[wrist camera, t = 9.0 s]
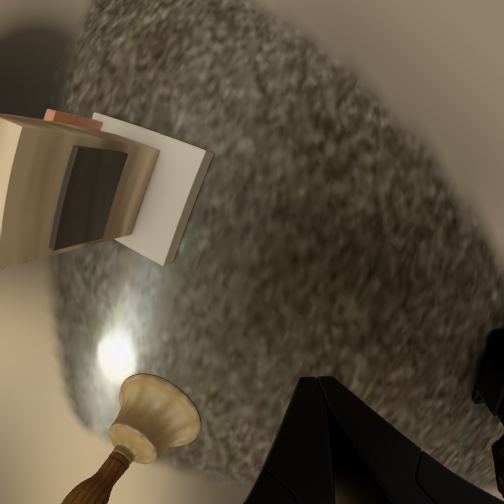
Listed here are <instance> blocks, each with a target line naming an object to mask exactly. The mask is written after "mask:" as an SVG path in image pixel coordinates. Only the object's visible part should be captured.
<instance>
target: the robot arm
mask: <svg viewBox="0 0 504 504" xmlns="http://www.w3.org/2000/svg"><path fill="white" fill-rule="evenodd" d="M496 335H497V337H496V338H495V336H496ZM494 338H495V339H494ZM477 397H478V398H477ZM476 398H477V399H476ZM472 401H473V403H474V404H479V403H486V404H487V406H488V407H489V409H490V411H491V412H492V414H493V415H494V416H496V415H497V416H498V418H499V419H500V421H501V423H502V424H503V426H504V329H496V330H494V331H492V332H491V334H490V337H489V341H488V345H487V349H486V353H485V357H484V359H483V361H482V365H481V368H480V372H479V375H478V378H477V381H476V384H475V390H474V393H473V395H472ZM491 447H492V453H493V460H494V466H495V474H496V481H497V488H498V491H499V492H500V493H501V494H502V497H503V498H504V434H503V435H502V437H501V438H500V439H499V440H497V441H496V442H495V443H494V444H493V445H492V446H491ZM243 504H504V501H502V500H500V499H498V498H497V497H495V496H493V495H491V494H489V493H487V492H486V491H484V490H482V489H480V488H478V487H477V486H475V485H473V484H471V483H469V482H468V481H466V480H464V479H463V478H461V477H460V476H458V475H456V474H455V473H453V472H452V471H450V470H449V469H447V468H446V467H444V466H443V465H442V464H440V463H439V462H437V461H436V460H435V459H433V458H432V457H431V456H430V455H428V454H427V453H426V452H424V451H422V452H421V449H420V448H419V447H418V446H417V445H415V444H414V443H413V442H412V441H410V440H409V439H408V438H407V437H405V436H404V435H403V434H402V433H400V432H399V431H398V430H397V429H395V428H394V427H393V426H392V425H391V424H389V423H388V422H387V421H386V420H384V419H383V418H382V417H381V416H380V415H378V414H377V413H376V412H375V411H374V410H372V409H371V408H370V407H369V406H367V405H366V404H365V403H364V402H363V401H362V400H360V399H359V398H358V397H357V396H356V395H354V394H353V393H352V392H351V391H350V390H348V389H347V388H346V387H345V386H344V385H343V384H341V383H340V382H339V381H338V380H337V379H336V378H334V377H333V376H319V377H317V378H315V377H300V378H299V380H298V382H297V385H296V387H295V390H294V393H293V395H292V398H291V400H290V403H289V405H288V408H287V410H286V413H285V415H284V418H283V420H282V423H281V425H280V427H279V430H278V432H277V434H276V437H275V439H274V441H273V444H272V446H271V448H270V451H269V453H268V455H267V457H266V460H265V462H264V464H263V466H262V469H261V470H260V472H259V474H258V477H257V479H256V481H255V483H254V485H253V487H252V488H251V490H250V492H249V494H248V496H247V498H246V499H245V501H244V502H243Z"/></svg>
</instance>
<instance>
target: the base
mask: <svg viewBox="0 0 504 504" xmlns="http://www.w3.org/2000/svg"><path fill="white" fill-rule="evenodd" d="M44 120H47V121H52V122H58V123H64V124H69V125H74V126H80V127H85V128H90V129H95V130H99V131H104V132H109V133H113V134H117V135H120V136H123V137H125V138H128V139H131V140H134V141H136V142H139V143H142V144H144V145H147V146H150V147H152V148H155V149H158V150H160V151H159V153H158V156H157V159H156V161H155V164H154V167H153V169H152V172H151V175H150V178H149V181H148V184H147V186H146V189H145V192H144V195H143V198H142V201H141V204H140V207H139V210H138V214H137V217H136V220H135V223H134V226H133V230H132V233H131V235H128V236H124V237H120V238H116V239H115V240H116V241H118V242H120V243H122V244H124V245H125V246H127V247H129V248H131V249H132V250H134V251H136V252H138V253H140V254H142V255H143V256H145V257H147V258H149V259H151V260H152V261H154V262H156V263H158V264H160V265H162V266H165V265H167V264H169V263H172V262H173V261H174V258H175V255H176V252H177V249H178V247H179V244H180V241H181V238H182V235H183V233H184V230H185V227H186V224H187V222H188V219H189V216H190V214H191V211H192V208H193V206H194V203H195V200H196V198H197V195H198V193H199V190H200V187H201V185H202V182H203V180H204V177H205V175H206V172H207V170H208V167H209V165H210V162H211V160H212V158H213V155H214V153H212V152H209V151H206V150H204V149H201V148H199V147H196V146H193V145H191V144H188V143H185V142H182V141H180V140H177V139H174V138H171V137H169V136H166V135H163V134H160V133H157V132H154V131H151V130H149V129H146V128H143V127H140V126H137V125H134V124H131V123H128V122H124V121H121V120H118V119H115V118H112V117H109V116H105V115H102V114H98V113H95V112H94V115H93V117H92V119H91V118H87V117H82V116H78V115H74V114H69V113H65V112H60V111H56V110H51V109H47V111H46V114H45V117H44Z"/></svg>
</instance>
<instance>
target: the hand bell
mask: <svg viewBox="0 0 504 504" xmlns="http://www.w3.org/2000/svg"><path fill="white" fill-rule="evenodd" d="M119 401H120V406H121V410H120V412H119V414H118V416H117V418H116V420H115V421H114V423H113V424H112V425H111V427H110V429H109V438H110V440H111V442H112V444H113V446H114V447H115V448H114V450H113V451H112V453H111V454H110V455H109V457H108V459H107V460H106V461H105V462H104V464H103V465H102V466H101V468H100V469H99V470H98V472H97V473H96V474H94V475H93V476H92V477H90V478H88V479H87V480H85V481H83V482H81V483H80V484H79V485H77V486H76V487H75V488H74V489H72V491H71V492H70V493H69V494H68V495H67V496H66V497H65V499H64V500H63V502H62V503H61V504H107V503H108V501H109V497H110V493H111V490H112V488H113V486H114V484H115V483H116V482H117V480H118V479H119V478H120V477H121V476H122V475H123V474H124V472H125V471H126V470H127V469H128V468H129V465H130V464H131V463H132V461H133V462H136V463H140V464H150V463H152V462H154V461H155V460H156V459H157V458H158V457H159V455H160V454H162V453H163V452H164V451H165V450H166V449H168V448H169V447H171V446H182V445H185V444H188V443H190V442H192V441H193V440H195V439H196V437H197V436H198V434H199V433H200V429H201V420H200V416H199V414H198V411H197V409H196V407H195V405H194V403H193V402H192V401H191V400H190V399H189V397H188V396H187V395H186V394H185V393H184V392H182V391H181V390H180V389H179V388H178V387H176V386H175V385H174V384H172V383H170V382H168V381H167V380H165V379H162V378H160V377H157V376H154V375H149V374H136V375H133V376H130V377H129V378H127V379H126V380H125V381H124V382H123V384H122V386H121V389H120V394H119Z"/></svg>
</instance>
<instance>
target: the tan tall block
mask: <svg viewBox="0 0 504 504" xmlns="http://www.w3.org/2000/svg"><path fill="white" fill-rule="evenodd" d="M159 151H160V150H158V149H155V148H152V147H150V146H147V145H144V144H142V143H139V142H136V141H134V140H131V139H128V138H125V137H123V136H120V135H117V134H113V133H109V132H104V131H99V130H95V129H90V128H85V127H80V126H74V125H69V124H64V123H58V122H52V121H47V120H40V119H34V118H28V117H21V116H14V115H6V114H0V270H2V269H6V268H9V267H12V266H15V265H19V264H22V263H26V262H29V261H33V260H37V259H40V258H44V257H47V256H51V255H55V254H58V253H62V252H66V251H69V250H73V249H77V248H81V247H84V246H88V245H92V244H96V243H100V242H104V241H108V240H112V239H116V238H120V237H124V236H128V235H131V233H132V230H133V226H134V223H135V220H136V217H137V214H138V210H139V207H140V204H141V201H142V198H143V195H144V192H145V189H146V186H147V184H148V181H149V178H150V175H151V172H152V169H153V167H154V164H155V161H156V159H157V156H158V153H159Z"/></svg>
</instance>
